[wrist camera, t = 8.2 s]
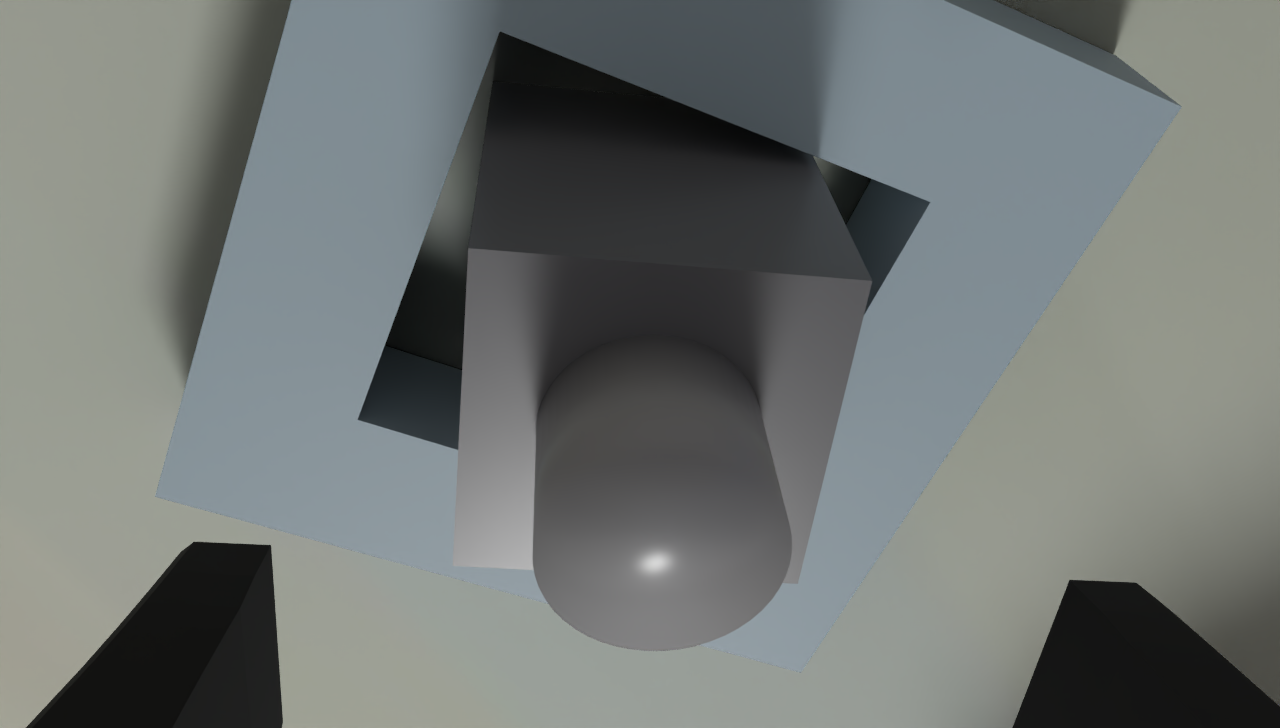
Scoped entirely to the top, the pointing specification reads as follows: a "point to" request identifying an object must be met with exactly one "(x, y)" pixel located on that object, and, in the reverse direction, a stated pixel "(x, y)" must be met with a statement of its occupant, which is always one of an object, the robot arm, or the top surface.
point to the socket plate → (707, 81)
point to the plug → (648, 361)
